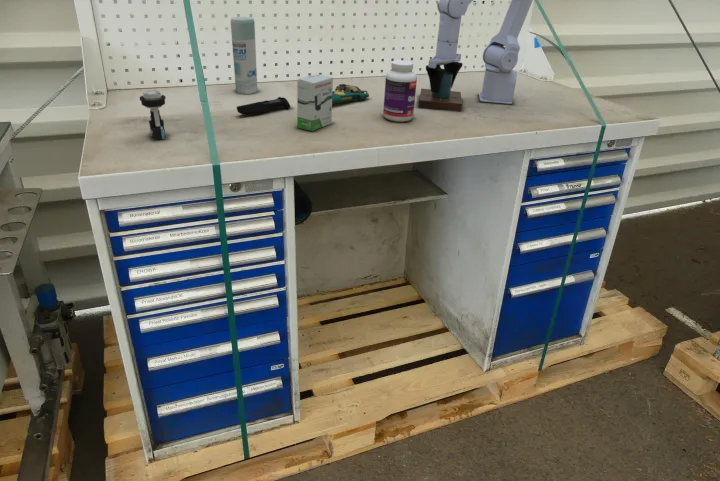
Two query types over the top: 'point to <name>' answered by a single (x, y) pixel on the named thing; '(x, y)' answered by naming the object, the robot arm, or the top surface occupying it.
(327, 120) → the ink box
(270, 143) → the top surface
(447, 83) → the jar
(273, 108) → the electric trimmer
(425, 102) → the stand
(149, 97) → the push button
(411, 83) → the pill bottle
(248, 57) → the spray paint can
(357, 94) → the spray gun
